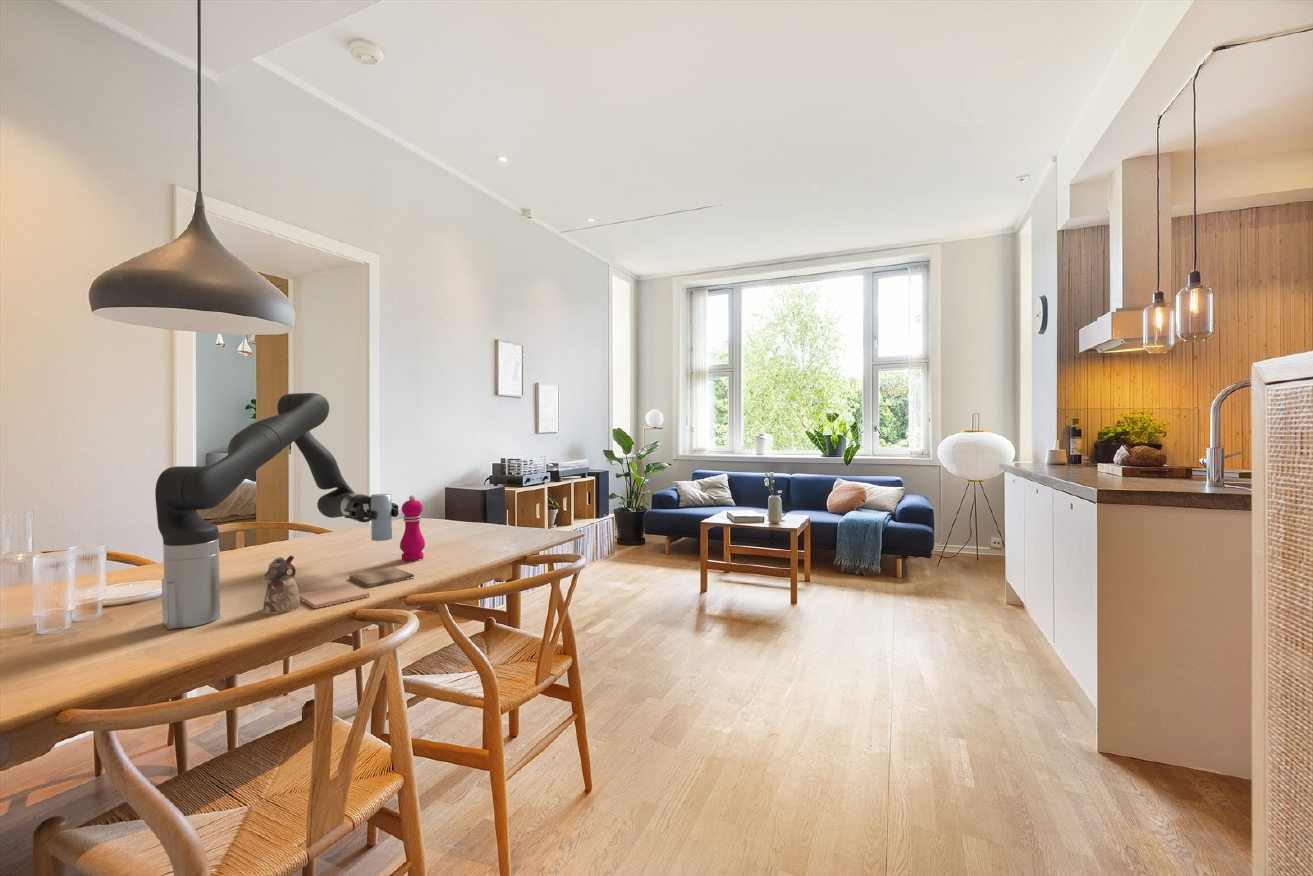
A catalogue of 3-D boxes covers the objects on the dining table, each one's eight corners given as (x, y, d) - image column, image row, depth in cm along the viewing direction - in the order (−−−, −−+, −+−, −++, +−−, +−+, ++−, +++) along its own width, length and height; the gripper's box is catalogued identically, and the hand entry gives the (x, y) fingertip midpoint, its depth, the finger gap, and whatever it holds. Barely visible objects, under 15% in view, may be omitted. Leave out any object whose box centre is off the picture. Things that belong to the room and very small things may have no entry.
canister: (376, 541, 151) (375, 496, 151) (368, 539, 154) (367, 495, 154) (395, 538, 155) (394, 494, 154) (386, 536, 158) (386, 493, 158)
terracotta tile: (315, 609, 130) (315, 604, 130) (297, 598, 138) (297, 594, 138) (369, 596, 139) (369, 592, 139) (349, 587, 147) (349, 583, 147)
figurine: (260, 608, 131) (259, 556, 130) (296, 602, 135) (296, 551, 135) (264, 616, 125) (263, 562, 125) (302, 609, 130) (301, 557, 129)
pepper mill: (404, 556, 180) (403, 493, 180) (428, 556, 181) (427, 493, 180) (396, 562, 173) (395, 496, 172) (421, 561, 174) (420, 496, 173)
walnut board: (368, 587, 147) (368, 584, 147) (349, 579, 154) (349, 575, 154) (413, 578, 156) (413, 574, 156) (393, 570, 164) (393, 567, 164)
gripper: (332, 497, 158) (357, 503, 147) (384, 492, 169) (411, 497, 158) (332, 523, 158) (357, 532, 147) (385, 517, 169) (412, 524, 158)
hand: (385, 514), depth 153 cm, fingers closed on canister, 5 cm apart
